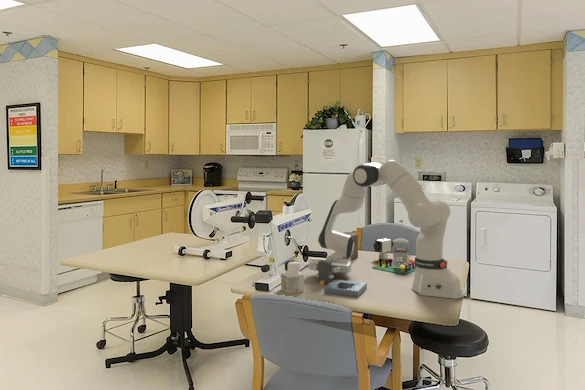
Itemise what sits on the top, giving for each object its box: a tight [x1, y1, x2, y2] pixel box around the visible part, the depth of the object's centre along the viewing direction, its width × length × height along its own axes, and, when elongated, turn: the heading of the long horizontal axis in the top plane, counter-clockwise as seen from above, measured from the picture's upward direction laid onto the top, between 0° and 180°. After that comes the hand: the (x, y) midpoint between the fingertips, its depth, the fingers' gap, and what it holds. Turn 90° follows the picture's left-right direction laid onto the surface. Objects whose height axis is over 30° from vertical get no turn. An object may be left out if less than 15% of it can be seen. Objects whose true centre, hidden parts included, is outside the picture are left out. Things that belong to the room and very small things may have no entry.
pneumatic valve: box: [373, 237, 394, 260], centre depth 259 cm, size 6×12×12 cm, turn 128°
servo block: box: [315, 259, 335, 286], centre depth 213 cm, size 6×8×10 cm
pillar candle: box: [342, 231, 359, 260], centre depth 264 cm, size 10×10×15 cm
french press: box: [392, 219, 414, 267], centre depth 240 cm, size 10×12×25 cm
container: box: [280, 259, 305, 294], centre depth 202 cm, size 8×8×13 cm
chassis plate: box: [323, 278, 368, 298], centre depth 201 cm, size 14×15×2 cm
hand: (324, 270), depth 213 cm, fingers open, 8 cm apart
